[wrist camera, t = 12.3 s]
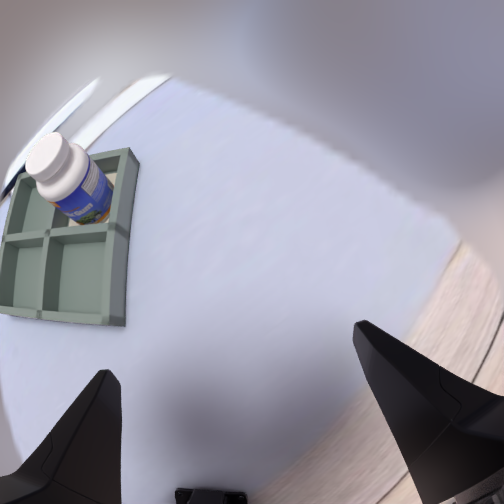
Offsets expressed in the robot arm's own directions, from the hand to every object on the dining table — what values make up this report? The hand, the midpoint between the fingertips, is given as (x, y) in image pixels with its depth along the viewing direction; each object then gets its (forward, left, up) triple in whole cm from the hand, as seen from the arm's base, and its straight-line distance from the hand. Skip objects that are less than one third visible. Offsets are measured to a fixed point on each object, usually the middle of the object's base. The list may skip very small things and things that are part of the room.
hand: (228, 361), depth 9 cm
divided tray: (+10, +19, -14) cm, 25 cm away
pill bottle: (+13, +15, -13) cm, 24 cm away
